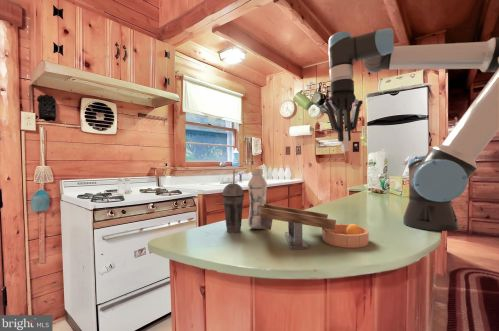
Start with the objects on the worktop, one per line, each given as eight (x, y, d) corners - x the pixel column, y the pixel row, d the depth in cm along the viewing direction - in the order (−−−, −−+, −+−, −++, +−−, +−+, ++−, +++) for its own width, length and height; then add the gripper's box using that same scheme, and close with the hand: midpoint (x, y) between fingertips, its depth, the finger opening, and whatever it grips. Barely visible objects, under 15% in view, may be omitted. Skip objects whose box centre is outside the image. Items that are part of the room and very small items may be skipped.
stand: (297, 234, 77) (297, 213, 77) (307, 249, 64) (306, 223, 64) (284, 234, 78) (284, 213, 77) (291, 249, 65) (291, 224, 64)
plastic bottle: (244, 228, 85) (243, 169, 85) (258, 225, 90) (257, 168, 89) (257, 232, 80) (256, 169, 80) (271, 228, 85) (271, 168, 85)
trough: (317, 226, 82) (320, 208, 82) (332, 240, 67) (336, 218, 67) (256, 216, 82) (259, 197, 82) (257, 228, 67) (261, 206, 67)
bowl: (357, 234, 77) (357, 223, 77) (377, 247, 65) (376, 235, 65) (317, 234, 77) (317, 224, 77) (330, 248, 65) (329, 235, 65)
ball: (359, 234, 73) (356, 221, 73) (365, 239, 69) (362, 224, 69) (345, 237, 73) (342, 223, 73) (350, 241, 69) (348, 227, 69)
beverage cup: (219, 232, 81) (217, 170, 80) (227, 227, 88) (226, 169, 87) (240, 234, 79) (239, 170, 78) (247, 228, 86) (246, 169, 85)
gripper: (355, 84, 90) (358, 151, 89) (319, 85, 89) (322, 152, 89) (366, 76, 82) (369, 149, 82) (326, 78, 81) (330, 151, 81)
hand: (345, 151), depth 85 cm, fingers closed
